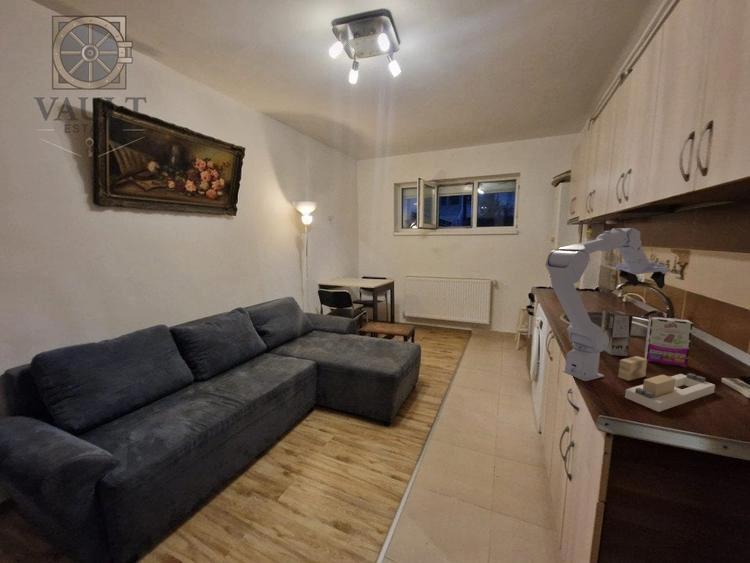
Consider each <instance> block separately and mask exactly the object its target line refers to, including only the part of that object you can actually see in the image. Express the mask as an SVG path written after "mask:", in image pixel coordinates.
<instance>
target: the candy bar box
mask: <svg viewBox="0 0 750 563" xmlns="http://www.w3.org/2000/svg"><path fill="white" fill-rule="evenodd" d="M693 324H694V323H693V322H692V321H691V320H690V319H681V318H669V317H661V316H660V317H659V316H648V324H647V332H646V338H645V341H646V342H645V348H644V358H645V359H647V362H650V363H654V364H662V365H668V366H674V367H675V366H676V367H682V368H687V367H688V362H689V353H690V346H691V339H692V331H693Z"/></svg>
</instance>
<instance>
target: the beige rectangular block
mask: <svg viewBox="0 0 750 563" xmlns="http://www.w3.org/2000/svg"><path fill="white" fill-rule="evenodd" d="M647 364H648V361H647V359H645V357H641V356H637V355H635V356H631V357H626V358H623V359H620V360H619V367H618V373H617V374H618V375H617V377H618V378H619V379H623V380H624V381H627V382H628V381H633V380H637V379H640V378H643V377H646V375H647V374H646V373H647Z"/></svg>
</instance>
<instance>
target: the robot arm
mask: <svg viewBox="0 0 750 563" xmlns="http://www.w3.org/2000/svg"><path fill="white" fill-rule="evenodd" d="M617 249H618V251H619V253H620V256H621V257H622V259H623V261H624V263H617V264H616V266H615V267H614V268H615V270H616V271H617V272H620V273H619V277H621V278H622V279H625V280H626V281H628V282H629V283H630V284H631V285H632V286H633V287H637V286H638V284H639V278H638V276H637V275H644V274H650V273H652V274H651V276H650V279H651V280H653V281H654V283H655V284H656V285H657V288H659V289H663V288H664V287H665V285H666V282H665V279H666V278H665V277H666V275H667V273H668V272H669V267H668V265H665V264H664V265H663V264H659V263H657V262H653V261H650V259H649V258H648V257H647V255H646V252H645V251H644V249H643V247H642V240H641V230H638V229H636V228H634V227H625V228H624V227H621V228H619V227H618V228H612V229H611V230H604V231H603V233H602V234H598V235H597V236H596V238H595V239H592V240H589V241H583V242H579V243H574V244H570V245H565V246H562V247H559V248H558V249H553V250H551V251H550V252H549V253H548V255H547V257H546V261H545V267H546V269H547V271H548V273H549V276H550V281H551V282H550V283H551V287H552V289H553V291H554V293H555V295H556V297H557V300H558V301H559V303H560V304H561V307H562V309H563V311H564V313H565V315H566V317H567V319H568V321H569V323H570V324H569V325H568V327H567V329H566V330H567V332H568V339H569V341H570V342H571V346H573V348H572V349H571V350H569V351H568V352H567V353H566V356H565V364H564V365H565V366H564V369H563V370H561V372H563V373H564V374H567V375H570V376H571V377H574V378H577V379H579V380H580V381H583V382H588V381H592V380H595V379H599V378H604V377H605V375H604V374H602V373H599V365H600V356H601V352H604V349H605V348H606V347H607V346H608V342H609V339H608V336H607V334H606V333H604V332H603V331H602V329H601V326H599V325H597V324H596V323H594V322H593V321H592V320H591V317H590V316H589V314H588V311H587V310H586V308H585V305H584V303H583V301H582V299H581V297H580V294H579V293H578V291H577V290H578V289H576V287H575V286H576V285H575V284H577V283H579V282H580V280H581V279H582V277H583V274H584V272H585V271H586V269H587V266H588V265H589V262H590V261H591V256H590V254H592V253H593V254H594V253H595V252H598V251H600V252H605V253H606V252H609V251H613V250H617Z"/></svg>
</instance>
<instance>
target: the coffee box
mask: <svg viewBox="0 0 750 563" xmlns="http://www.w3.org/2000/svg"><path fill="white" fill-rule="evenodd" d="M633 317H634V315H632V314H629V313H627V312H624V311H621V310H616V309H615V310H614V309H613V310H612V309H611V310H609V309H608V310H606V309H603V310H602V317H601V318H602V319H601V326H600V328H601V329H602V331H603V332H604V333H606V334H607V336H608V339H609V342H608V346H607V347H606V348H605V349H604V350H603V352H605V353H607V354H609V355H610V356H622V357H628V355H629V349H630V341H631V333H632V324H633Z"/></svg>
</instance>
